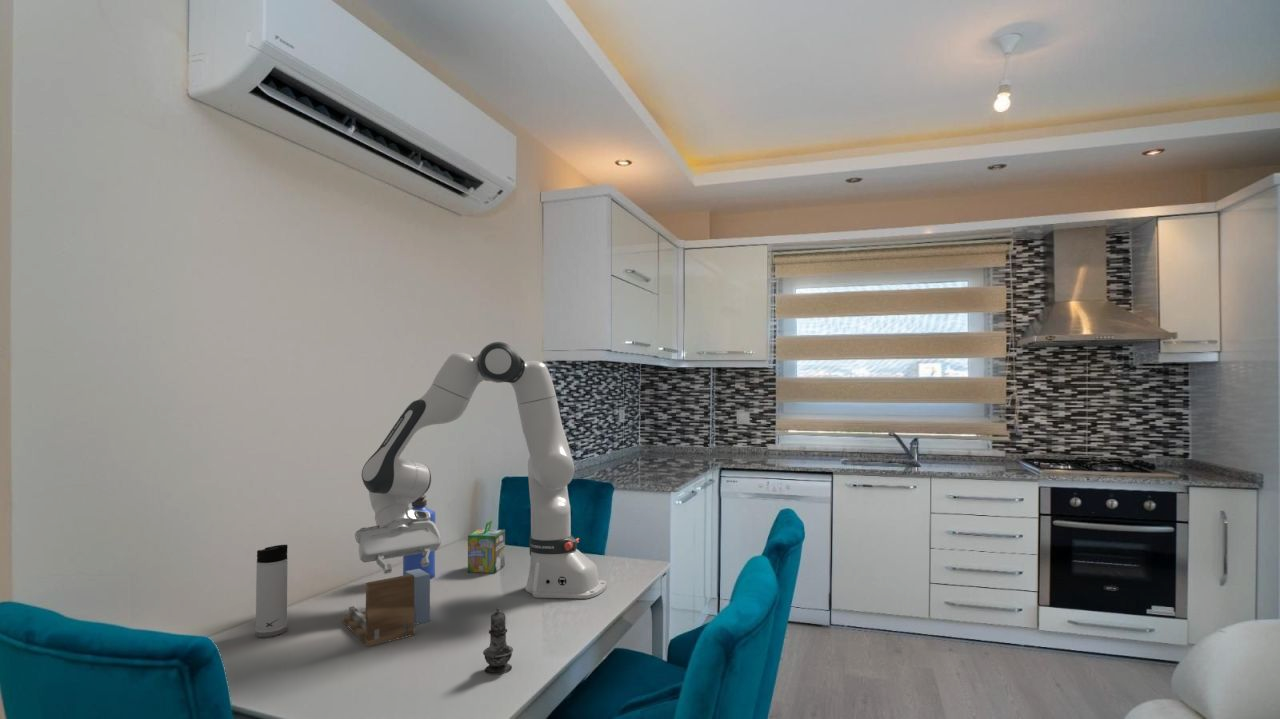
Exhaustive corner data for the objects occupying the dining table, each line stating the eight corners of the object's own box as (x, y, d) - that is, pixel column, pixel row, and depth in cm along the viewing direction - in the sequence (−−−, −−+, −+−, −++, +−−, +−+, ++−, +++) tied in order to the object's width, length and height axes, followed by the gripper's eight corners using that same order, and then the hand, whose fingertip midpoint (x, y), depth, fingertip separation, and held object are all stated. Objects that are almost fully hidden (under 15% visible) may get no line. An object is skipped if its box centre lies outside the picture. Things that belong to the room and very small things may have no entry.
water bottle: (442, 575, 193) (442, 491, 194) (416, 583, 185) (416, 496, 186) (421, 571, 198) (421, 489, 199) (395, 579, 190) (396, 494, 191)
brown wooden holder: (343, 621, 155) (343, 566, 155) (385, 612, 161) (385, 559, 162) (368, 646, 139) (368, 584, 140) (414, 634, 146) (414, 575, 146)
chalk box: (478, 565, 204) (477, 518, 205) (505, 565, 203) (505, 518, 204) (466, 573, 195) (466, 524, 196) (495, 573, 194) (495, 524, 195)
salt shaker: (485, 663, 130) (485, 603, 130) (515, 662, 130) (514, 602, 131) (480, 676, 124) (480, 613, 124) (511, 674, 124) (511, 611, 125)
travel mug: (274, 638, 145) (275, 548, 146) (248, 637, 146) (250, 548, 147) (294, 628, 151) (295, 542, 152) (269, 627, 152) (271, 541, 153)
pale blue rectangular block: (405, 616, 158) (405, 571, 158) (419, 613, 160) (419, 568, 161) (415, 624, 152) (415, 577, 153) (429, 620, 155) (429, 574, 155)
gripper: (356, 521, 162) (367, 569, 154) (435, 511, 175) (449, 554, 167) (351, 536, 165) (361, 583, 157) (429, 525, 178) (442, 568, 170)
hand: (407, 568), depth 162 cm, fingers open, 8 cm apart
